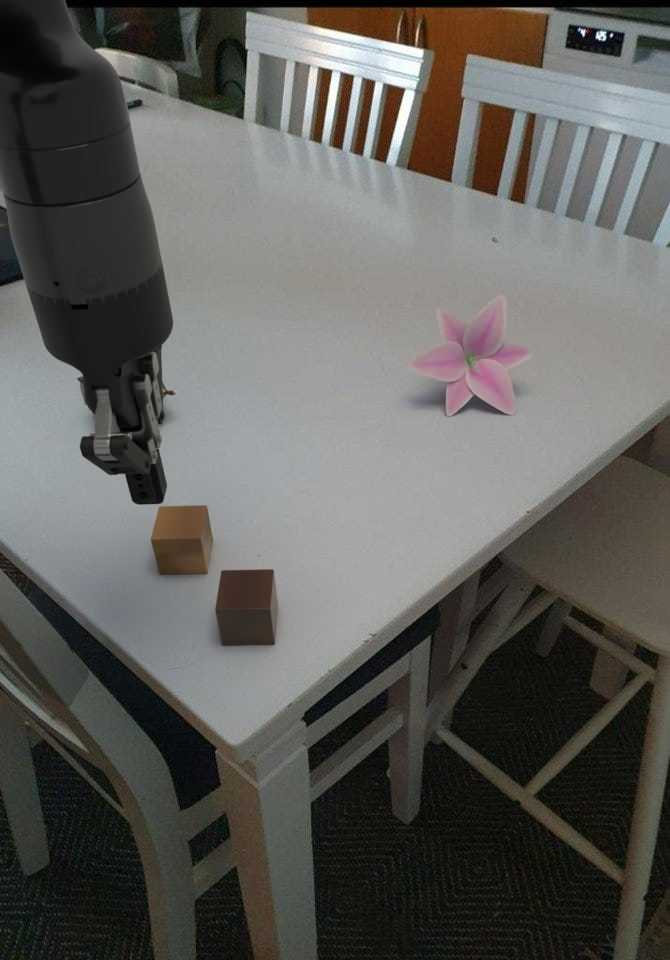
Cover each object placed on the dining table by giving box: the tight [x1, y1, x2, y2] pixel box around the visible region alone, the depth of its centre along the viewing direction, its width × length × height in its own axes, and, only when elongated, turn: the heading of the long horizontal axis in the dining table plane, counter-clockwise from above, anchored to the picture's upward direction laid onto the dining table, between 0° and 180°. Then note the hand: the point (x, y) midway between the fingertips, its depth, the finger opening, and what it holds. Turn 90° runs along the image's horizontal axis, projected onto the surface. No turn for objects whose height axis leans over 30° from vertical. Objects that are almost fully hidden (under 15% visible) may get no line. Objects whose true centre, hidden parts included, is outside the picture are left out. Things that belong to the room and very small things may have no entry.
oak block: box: [150, 504, 214, 575], centre depth 67 cm, size 4×4×4 cm
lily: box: [406, 294, 535, 417], centre depth 83 cm, size 12×12×10 cm
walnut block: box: [214, 568, 279, 646], centre depth 61 cm, size 4×4×4 cm
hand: (150, 497), depth 56 cm, fingers closed
